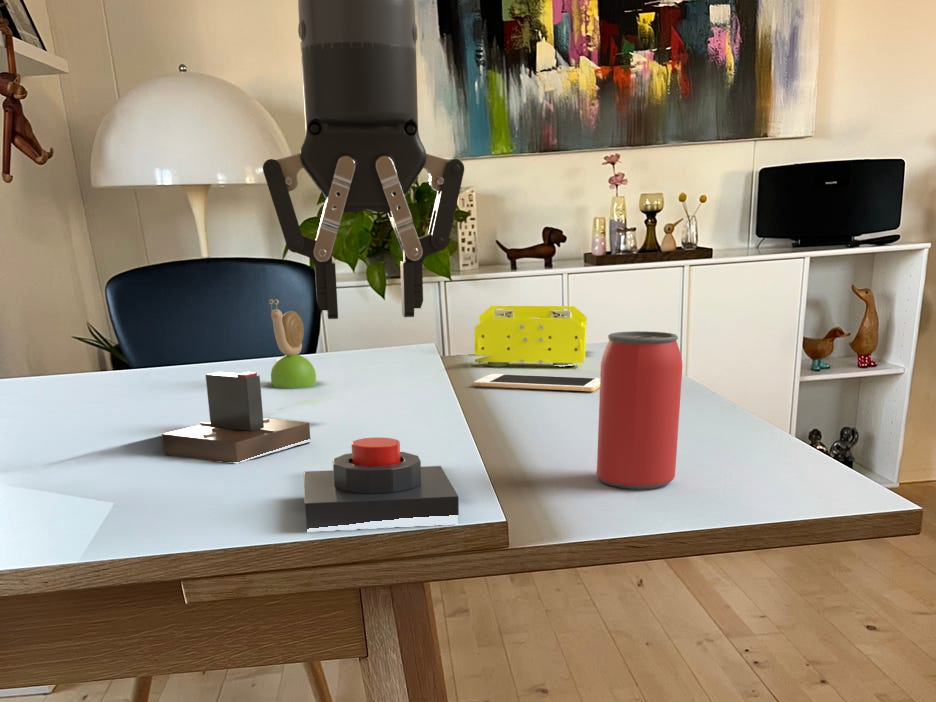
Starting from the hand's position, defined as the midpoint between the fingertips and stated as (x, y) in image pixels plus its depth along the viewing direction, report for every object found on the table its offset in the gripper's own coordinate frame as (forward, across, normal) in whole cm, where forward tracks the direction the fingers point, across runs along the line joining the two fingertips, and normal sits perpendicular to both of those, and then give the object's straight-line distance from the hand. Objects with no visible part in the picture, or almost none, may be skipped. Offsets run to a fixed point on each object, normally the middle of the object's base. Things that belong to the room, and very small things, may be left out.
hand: (370, 316), depth 75 cm
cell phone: (+14, -26, -59) cm, 66 cm away
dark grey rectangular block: (+12, +12, -26) cm, 31 cm away
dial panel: (+14, +12, -26) cm, 32 cm away
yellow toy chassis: (+15, -28, -78) cm, 84 cm away
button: (+11, 0, 0) cm, 11 cm away
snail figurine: (+15, +6, -53) cm, 56 cm away
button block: (+14, 0, 0) cm, 14 cm away
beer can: (+15, -22, -6) cm, 27 cm away
